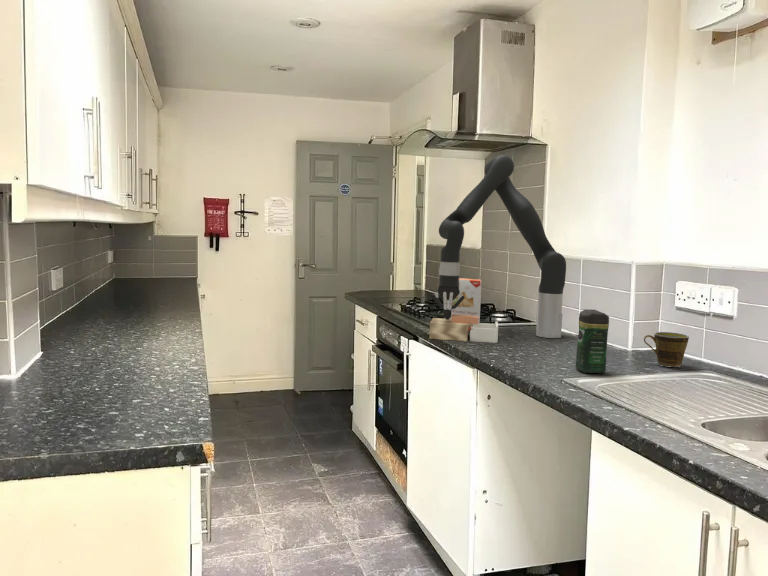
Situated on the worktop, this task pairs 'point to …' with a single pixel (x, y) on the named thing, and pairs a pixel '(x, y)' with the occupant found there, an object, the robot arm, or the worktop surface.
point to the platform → (448, 330)
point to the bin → (484, 332)
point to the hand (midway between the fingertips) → (447, 319)
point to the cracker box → (468, 298)
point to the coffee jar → (592, 341)
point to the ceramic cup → (669, 348)
